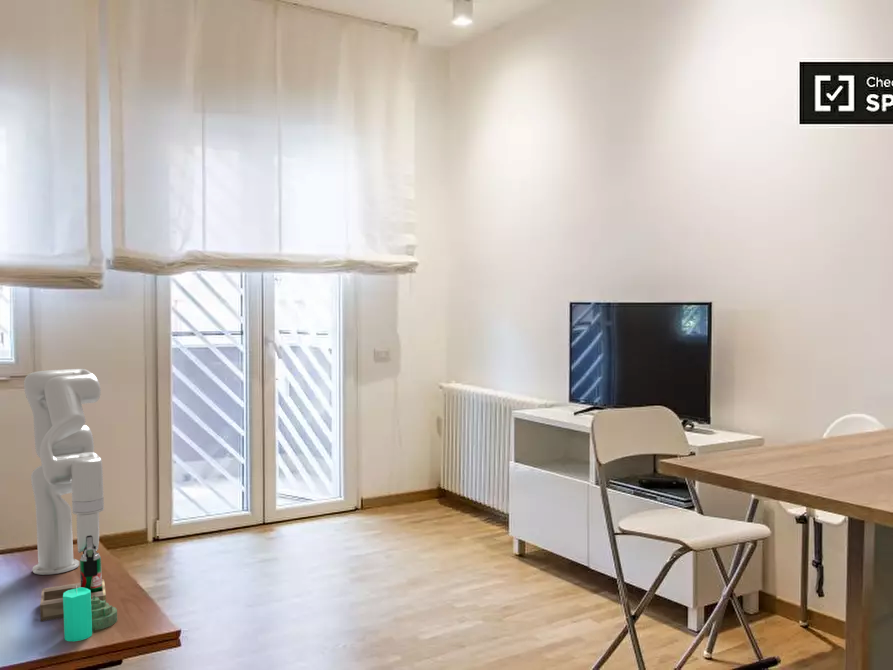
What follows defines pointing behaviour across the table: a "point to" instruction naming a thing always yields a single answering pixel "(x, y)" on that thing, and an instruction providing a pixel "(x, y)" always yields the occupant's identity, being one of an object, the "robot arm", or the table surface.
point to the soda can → (94, 581)
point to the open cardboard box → (60, 600)
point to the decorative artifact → (102, 614)
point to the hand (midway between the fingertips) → (90, 570)
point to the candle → (77, 614)
